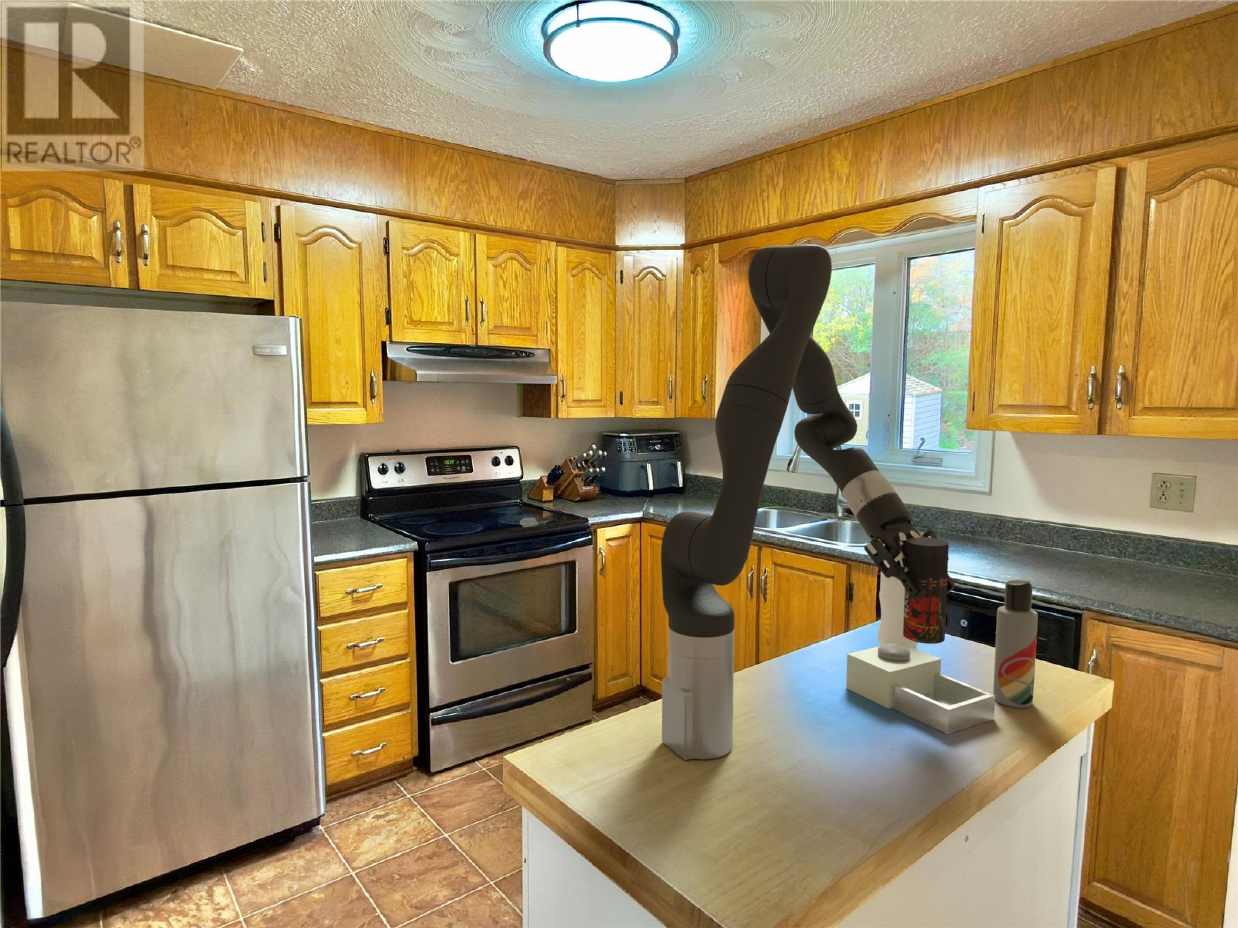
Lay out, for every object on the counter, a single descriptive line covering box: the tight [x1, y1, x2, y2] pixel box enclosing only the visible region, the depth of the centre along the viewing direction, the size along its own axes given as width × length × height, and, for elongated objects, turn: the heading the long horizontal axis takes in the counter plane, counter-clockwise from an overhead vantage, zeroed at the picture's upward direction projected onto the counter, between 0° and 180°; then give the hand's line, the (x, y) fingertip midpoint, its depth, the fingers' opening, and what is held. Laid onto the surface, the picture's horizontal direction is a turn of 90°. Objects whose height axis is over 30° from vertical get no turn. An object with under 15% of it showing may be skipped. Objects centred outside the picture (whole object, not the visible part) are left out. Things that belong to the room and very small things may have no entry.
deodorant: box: [903, 537, 950, 645], centre depth 109 cm, size 6×6×15 cm
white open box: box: [891, 673, 996, 735], centre depth 111 cm, size 11×10×4 cm
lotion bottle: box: [992, 579, 1039, 709], centre depth 115 cm, size 6×6×20 cm
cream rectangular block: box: [845, 642, 942, 709], centre depth 120 cm, size 12×9×7 cm
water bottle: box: [877, 560, 919, 650], centre depth 136 cm, size 7×7×25 cm
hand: (935, 593), depth 108 cm, fingers closed on deodorant, 6 cm apart
